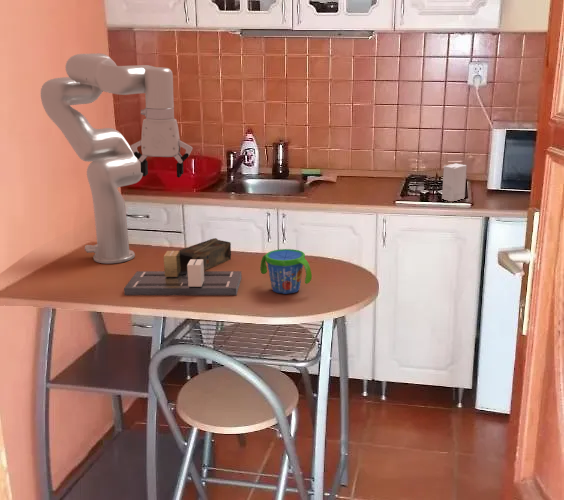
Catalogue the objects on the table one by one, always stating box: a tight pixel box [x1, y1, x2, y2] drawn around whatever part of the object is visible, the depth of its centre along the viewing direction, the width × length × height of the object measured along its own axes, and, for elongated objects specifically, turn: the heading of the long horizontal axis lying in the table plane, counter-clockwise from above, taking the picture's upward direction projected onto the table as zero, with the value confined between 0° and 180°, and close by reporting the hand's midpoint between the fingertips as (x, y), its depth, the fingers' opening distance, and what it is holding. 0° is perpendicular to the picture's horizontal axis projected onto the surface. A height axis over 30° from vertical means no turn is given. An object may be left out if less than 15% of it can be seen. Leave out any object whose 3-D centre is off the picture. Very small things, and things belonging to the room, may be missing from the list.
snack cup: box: [260, 248, 313, 295], centre depth 183 cm, size 16×10×10 cm
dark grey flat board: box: [123, 270, 242, 296], centre depth 188 cm, size 30×14×2 cm, turn 88°
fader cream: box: [187, 259, 204, 287], centre depth 183 cm, size 4×5×6 cm
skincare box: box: [441, 162, 468, 202], centre depth 283 cm, size 8×6×15 cm
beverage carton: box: [178, 238, 232, 271], centre depth 205 cm, size 8×19×7 cm, turn 147°
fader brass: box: [163, 250, 181, 277], centre depth 191 cm, size 4×5×6 cm
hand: (162, 175), depth 192 cm, fingers open, 9 cm apart
